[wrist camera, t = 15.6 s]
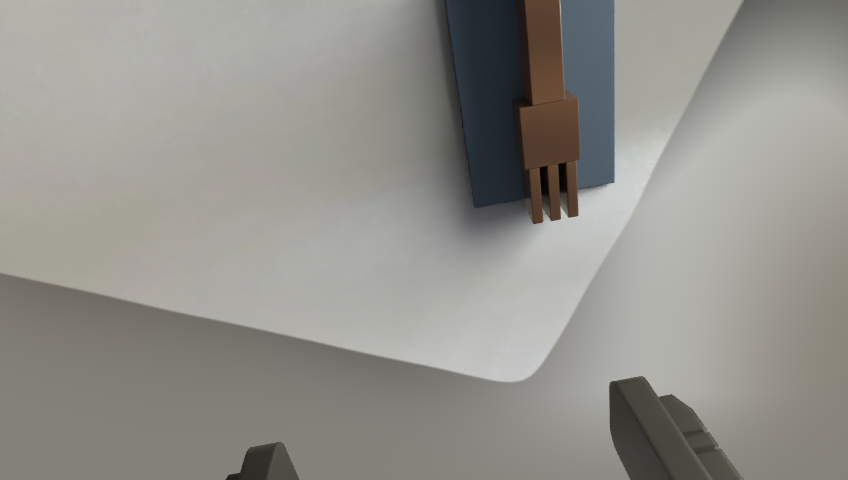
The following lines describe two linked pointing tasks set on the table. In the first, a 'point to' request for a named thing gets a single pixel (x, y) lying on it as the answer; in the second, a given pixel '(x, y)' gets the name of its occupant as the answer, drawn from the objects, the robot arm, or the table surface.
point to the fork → (545, 115)
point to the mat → (502, 82)
